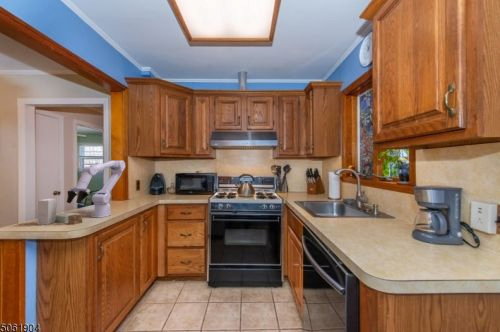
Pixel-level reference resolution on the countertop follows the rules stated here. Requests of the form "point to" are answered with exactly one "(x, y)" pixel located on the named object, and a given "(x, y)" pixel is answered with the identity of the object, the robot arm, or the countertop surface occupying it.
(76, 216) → the walnut cube
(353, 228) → the countertop surface
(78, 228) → the countertop surface
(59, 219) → the sage block
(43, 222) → the skincare box
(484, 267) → the countertop surface
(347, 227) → the countertop surface
